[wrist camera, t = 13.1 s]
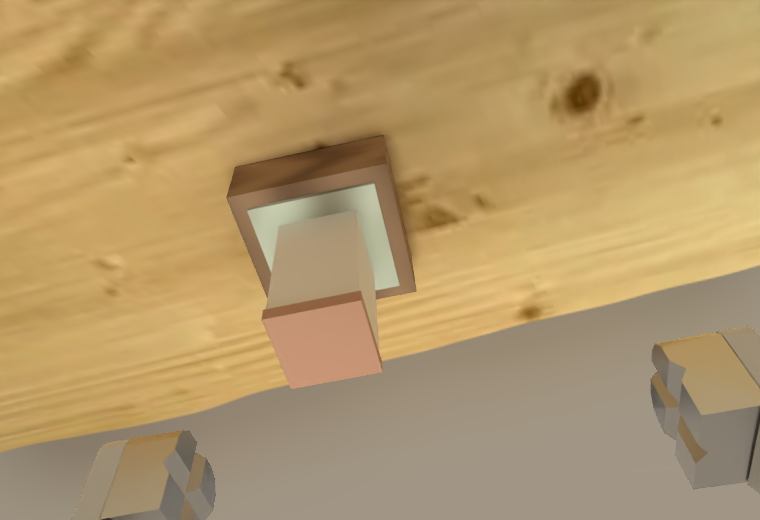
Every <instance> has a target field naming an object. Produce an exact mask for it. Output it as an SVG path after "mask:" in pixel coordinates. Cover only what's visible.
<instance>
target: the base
mask: <svg viewBox="0 0 760 520" xmlns="http://www.w3.org/2000/svg"><path fill="white" fill-rule="evenodd" d="M226 198H227V200H228V203H229V205H230V208H231V210H232V213H233V215H234V218H235V220H236V222H237V225H238V227H239V230H240V232H241V235H242V237H243V240H244V242H245V245H246V247H247V249H248V252H249V254H250V257H251V259H252V262H253V264H254V267H255V269H256V271H257V274H258V276H259V279H260V281H261V284H262V286H263V289H264V291H265V294H266V296H267V298H268V293H269V286H270V280H271V273H272V267H273V260H274V254H275V247H276V241H277V234H278V228H279V225H284V224H288V223H293V222H298V221H303V220H308V219H312V218H317V217H322V216H327V215H331V214H336V213H341V212H346V211H351V210H355V209H357V212H358V215H359V219H360V223H361V226H362V230H363V234H364V237H365V241H366V244H367V248H368V252H369V255H370V259H371V263H372V266H373V270H374V278H375V293H376V299H381V298H386V297H391V296H396V295H401V294H406V293H411V292H416V285H415V278H414V271H413V264H412V258H411V253H410V249H409V245H408V240H407V236H406V231H405V227H404V223H403V218H402V214H401V210H400V205H399V201H398V196H397V192H396V188H395V183H394V179H393V175H392V170H391V166H390V161H389V157H388V153H387V148H386V144H385V140H384V135H382V136H377V137H373V138H368V139H363V140H359V141H354V142H350V143H345V144H340V145H336V146H331V147H327V148H322V149H317V150H313V151H308V152H304V153H299V154H295V155H290V156H285V157H281V158H276V159H272V160H267V161H262V162H258V163H253V164H249V165H244V166H239V167H235V170H234V174H233V177H232V180H231V184H230V187H229V191H228V194H227V197H226Z"/></svg>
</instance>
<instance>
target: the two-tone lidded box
mask: <svg viewBox="0 0 760 520" xmlns="http://www.w3.org/2000/svg"><path fill="white" fill-rule="evenodd" d="M262 322H263V324H264V326H265V329H266V331H267V333H268V336H269V338H270V340H271V343H272V345H273V348H274V350H275V352H276V355H277V357H278V359H279V362H280V364H281V366H282V369H283V371H284V373H285V376H286V378H287V380H288V383H289V385H290V387H291V389H293V388H298V387H305V386H309V385H315V384H321V383H326V382H331V381H337V380H342V379H348V378H353V377H358V376H364V375H369V374H374V373H380V372H382V360H381V357H380V354H379V341H378V325H377V309H376V293H375V278H374V270H373V266H372V263H371V259H370V255H369V252H368V248H367V244H366V241H365V237H364V234H363V230H362V226H361V223H360V219H359V215H358V212H357V209H355V210H351V211H346V212H341V213H336V214H331V215H327V216H322V217H317V218H312V219H308V220H303V221H298V222H293V223H288V224H284V225H279V228H278V234H277V241H276V247H275V254H274V260H273V267H272V273H271V280H270V286H269V293H268V299H267V306H266V309H265V310H263V315H262Z"/></svg>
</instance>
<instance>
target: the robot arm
mask: <svg viewBox="0 0 760 520" xmlns="http://www.w3.org/2000/svg"><path fill="white" fill-rule="evenodd" d="M652 362H653V364H654V366H655V368H656V370H657V372H656V373H655V375H654V376H653V377H652V378H651V397H652V403H653V408H654V410H655V413H656V416H657V419H658V421H659V423H660V425H661V427H662V429H663V431H664V433H665V434H667V435H668V436H670V437H672V438H673V439H675V440H676V457H677V459H678V461H679V463H680V465H681V467H682V469H683V471H684V472H685V474H686V476H687V478H688V480H689V482H690V484H691V486H692V488H693V489H698V488H706V487H714V486H720V485H728V484H735V483H743V482H748V485H749V486H750V487H751V488H753V489H754V490H756V491H757V492H758V493H760V336H759V335H758V334H757V332H756V331H755V330H754V329H752V328H751V327H749V326H745V327H740V328H735V329H729V330H724V331H719V332H716V333H707V334H702V335H697V336H692V337H687V338H681V339H676V340H672V341H666V342H661V343H656V344H655V345H654V347H653V349H652ZM196 445H197V441H196V440H195V438H194V437H193V435H192V434H191V432H190V431H184V430H183V431H177V432H170V433H164V434H158V435H151V436H144V437H138V438H132V439H128V440H122V441H116V442H109V443H105V444H104V445H103V446H102V447H101V448H100V449H99V450H98V452H97V455H96V457H95V460H94V463H93V465H92V468H91V471H90V473H89V476H88V478H87V481H86V483H85V486H84V489H83V492H82V494H81V496H80V499H79V502H78V504H77V507H76V510H75V512H74V515H73V517H72V520H205V519H206V518H207V517H208V516H209V515H210V513H211V512H212V511H213V507H214V502H215V496H216V494H215V478H214V474H213V471H212V468H211V465H210V464H209V462H208V460H207V458H205V457H203V456H201V455H199V454H197V453H195V450H196Z"/></svg>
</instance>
